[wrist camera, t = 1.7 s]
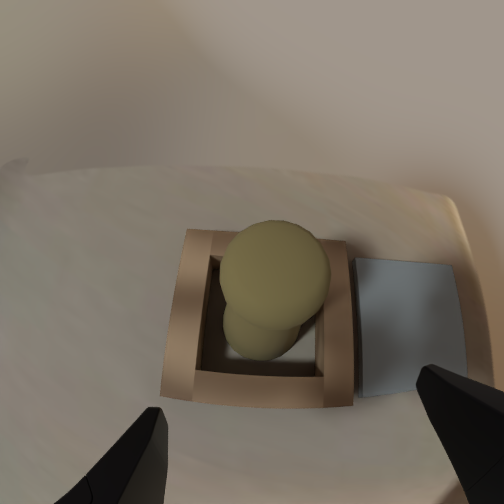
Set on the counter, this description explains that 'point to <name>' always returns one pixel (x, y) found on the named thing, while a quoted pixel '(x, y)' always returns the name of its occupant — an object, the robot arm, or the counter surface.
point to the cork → (271, 287)
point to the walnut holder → (250, 386)
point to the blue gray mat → (405, 323)
